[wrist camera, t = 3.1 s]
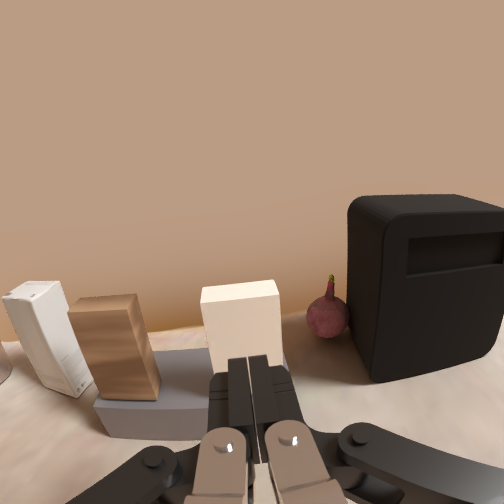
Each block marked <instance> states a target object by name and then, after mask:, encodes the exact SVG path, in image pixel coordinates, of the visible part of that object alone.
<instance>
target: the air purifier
mask: <svg viewBox="0 0 504 504" xmlns="http://www.w3.org/2000/svg"><path fill="white" fill-rule="evenodd" d="M347 224H348V263H347V265H348V266H347V299H346V305H347V306H348V308H349V312H350V319H349V323H348V327H349V329H350V331H351V334H352V336H353V338H354V340H355V343H356V345H357V347H358V349H359V352H360V354H361V356H362V359H363V361H364V363H365V366H366V368H367V370H368V373H369V375H370V377H371V378H372V379H373V380H374V381H376V382H388V381H393V380H398V379H403V378H407V377H412V376H416V375H420V374H424V373H429V372H432V371H436V370H440V369H444V368H447V367H451V366H454V365H458V364H461V363H464V362H468V361H471V360H474V359H477V358H480V357H482V356H484V355H486V354H487V353H488V352H489V351H490V350H491V348H492V347H493V346H494V344H495V342H496V339H497V336H498V333H499V329H500V326H501V323H502V319H503V315H504V208H501V207H498V206H495V205H492V204H488V203H485V202H482V201H478V200H475V199H471V198H468V197H464V196H460V195H456V194H427V195H425V194H419V195H377V196H376V195H374V196H361V197H358V198H356V199H355V200H354V201H353V202H352V203H351V204H350V206H349V208H348V212H347Z"/></svg>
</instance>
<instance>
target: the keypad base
mask: <svg viewBox="0 0 504 504" xmlns="http://www.w3.org/2000/svg"><path fill="white" fill-rule="evenodd" d="M282 352H283V349H282ZM153 355H154V358H155V361H156V364H157V367H158V370H159V373H160V376H161V379H162V383H161V387H160V391H159V395H158V399H157V400H118V399H103V398H102V396H101V394H100V392H99V394H98V396H97V399H96V401H95V403H94V405H93V408H94V410H95V411H96V413H97V415H98V417H99V418H100V420H101V422H102V424H103V425H104V427H105V429H106V430H107V432H108V434H109V435H110V437H115V438H127V439H143V440H202V438H203V437H204V435H206V434H207V425H208V405H209V387H210V381H211V379H212V378H213V376H214V371H213V367H212V362H211V357H210V352H209V348H200V349H187V350H171V351H153ZM283 366H284V367H285V368H286V369H287V370H288V371H289V369H288V366H287V362H286V359H285V355H284V352H283ZM252 401H253V396H252ZM253 409H254V405H253ZM254 417H255V413H254ZM255 426H256V421H255ZM256 434H257V428H256ZM257 436H258V435H257Z"/></svg>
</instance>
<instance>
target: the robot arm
mask: <svg viewBox="0 0 504 504" xmlns="http://www.w3.org/2000/svg"><path fill="white" fill-rule="evenodd" d="M248 362H249V370H250V378H249V372H248V365H247V358H246V357H240V358H231V359H228V372H218V373H215V375H214V376H213V378H212V379H211V381H210V387H209V405H208V425H207V434H206V435H204V437H203V438H202V440H201V442H200V443H199V444H198V445H196V446H195V447H193V448H190V449H187V450H183V451H179V452H176V453H174V452H173V451H172V450H171V449H169V448H167V447H164V446H150V447H146V448H144V449H143V450H141V451H140V452H138V453H137V454H136V455H134V456H133V457H132V458H130V459H129V460H128V461H126V462H125V463H124V464H122V465H121V466H120V467H118V468H117V469H115V470H114V471H113V472H111V473H110V474H108V475H107V476H106V477H104V478H103V479H101V480H100V481H99V482H97V483H96V484H94V485H93V486H91V487H90V488H88V489H87V490H85V491H84V492H82V493H81V494H79V495H78V496H76V497H75V498H73V499H72V500H70V501H69V502H67V503H65V504H255V468H254V464H260V458H259V450H258V442H257V435H258V441H259V447H260V453H261V460H262V463H268V468H269V474H270V481H271V485H272V489H273V493H274V497H275V501H276V504H348V503H347V500H346V498H348V499H350V500H352V501H354V502H356V503H358V504H504V469H501V468H497V467H493V466H490V465H486V464H482V463H479V462H475V461H472V460H468V459H465V458H462V457H459V456H455V455H452V454H449V453H446V452H443V451H440V450H437V449H434V448H432V447H429V446H426V445H423V444H420V443H418V442H415V441H412V440H410V439H407V438H405V437H402V436H400V435H397V434H395V433H392V432H390V431H387V430H385V429H382V428H380V427H378V426H375V425H373V424H370V423H364V422H361V423H354V424H351V425H349V426H347V427H345V428H344V429H343V430H342V431H341V433H324V432H319V431H316V430H314V429H312V428H310V427H309V426H308V425H307V424H306V423H305V422H304V419H303V416H302V413H301V410H300V406H299V403H298V399H297V396H296V392H295V389H294V386H293V383H292V379H291V375H290V372H289V371H288V370H287V369H286V368H285V367H284V366H282V365H277V366H270V367H269V364H268V359H267V355H266V354H264V355H256V356H248ZM11 370H12V365H11V363H10V361H9V359H8V356H7V354H6V352H5V350H4V348H3V346H2V343H1V341H0V384H1V383H2V382H3V381H4V380H5V379H6V378H7V377H8V376H9V374H10V372H11ZM250 379H251V385H250ZM251 388H252V393H251ZM252 396H253V401H252ZM253 405H254V409H253ZM254 413H255V417H254ZM255 421H256V426H255ZM256 428H257V434H256ZM345 497H346V498H345Z"/></svg>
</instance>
